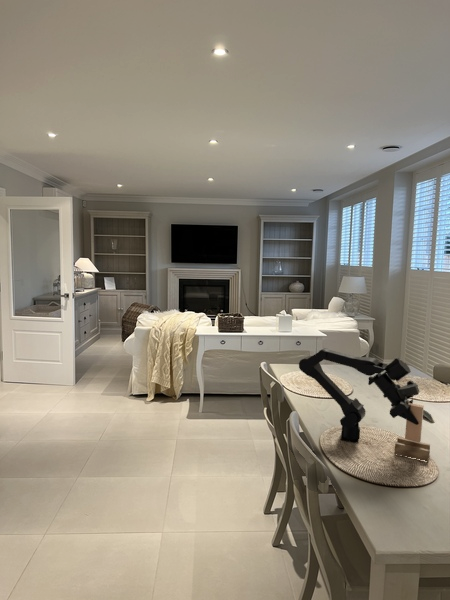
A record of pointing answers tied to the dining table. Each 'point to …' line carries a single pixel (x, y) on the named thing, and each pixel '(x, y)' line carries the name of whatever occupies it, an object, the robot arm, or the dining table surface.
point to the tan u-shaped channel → (412, 449)
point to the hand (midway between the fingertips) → (418, 422)
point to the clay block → (412, 429)
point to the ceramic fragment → (428, 416)
